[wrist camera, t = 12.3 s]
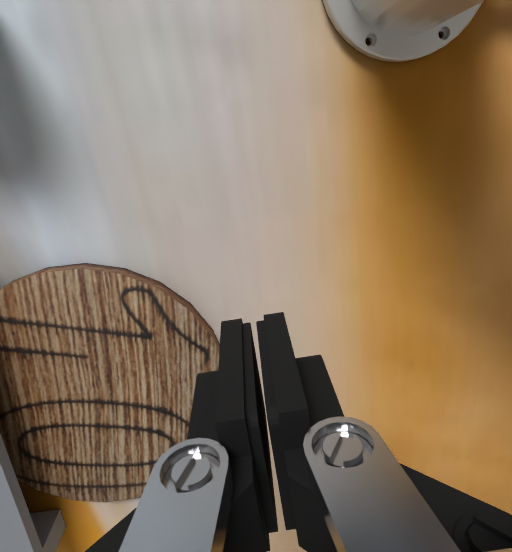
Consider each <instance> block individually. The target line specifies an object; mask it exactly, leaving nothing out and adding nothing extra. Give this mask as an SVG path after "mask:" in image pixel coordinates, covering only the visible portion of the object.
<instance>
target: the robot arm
mask: <svg viewBox="0 0 512 552" xmlns="http://www.w3.org/2000/svg"><path fill="white" fill-rule="evenodd" d="M483 1H485V0H323V3H324V6H325V9H326V12H327V14H328V16H329V18H330V20H331V22H332V23H333V25H334V27H335V29H336V30H337V31H338V32H339V34H340V35H341V36H342V37H343V38H344V40H345V41H346V42H347V43H349V44H350V45H351V46H352V47H354V48H355V49H356V50H357V51H359V52H361V53H363V54H365V55H367V56H369V57H371V58H374V59H378V60H382V61H386V62H404V61H409V60H414V59H418V58H421V57H423V56H426V55H429V54H431V53H433V52H435V51H436V50H438V49H440V48H442V47H444V46H445V45H447V44H448V43H449V42H450V41H452V40H453V39H454V38H455V37H457V36H458V35H459V34H460V33H461V32H462V30H463V29H464V28H465V27H466V26H467V25H468V24H469V23H470V21H471V20H472V18H473V17H474V15H475V14H476V12H477V11H478V9H479V7H480V6H481V4H482V2H483ZM438 33H440V34H441V38H439V35H438ZM366 39H369V40H370V45H369V46H367V45H366V42H365V40H366ZM256 323H257V332H258V341H259V350H260V359H261V368H262V377H263V386H264V395H265V404H266V412H267V419H268V426H269V432H270V438H271V444H272V450H273V456H274V462H275V468H276V474H277V479H278V485H279V491H280V497H281V503H282V509H283V515H284V521H285V527H286V530H291V529H296V531H297V537H298V544H299V546H300V547H302V548H303V549H304V550H306V551H307V552H512V515H510V514H509V513H507V512H505V511H502V510H500V509H498V508H496V507H494V506H492V505H489V504H487V503H485V502H483V501H481V500H478V499H476V498H474V497H472V496H470V495H468V494H465V493H463V492H461V491H459V490H457V489H455V488H452V487H450V486H448V485H446V484H444V483H441V482H439V481H437V480H435V479H433V478H431V477H428V476H426V475H424V474H422V473H420V472H418V471H415V470H413V469H411V468H409V467H407V466H405V465H402V464H400V463H399V462H398V461H397V459H396V458H395V456H394V455H393V454H392V452H391V451H390V449H389V448H388V446H387V445H386V443H385V442H384V441H383V439H382V438H381V436H380V435H379V433H378V432H377V431H376V430H375V429H374V428H373V427H372V426H370V425H369V424H367V423H365V422H364V421H362V420H358V419H355V418H352V417H344V415H343V412H342V409H341V407H340V404H339V401H338V399H337V396H336V393H335V391H334V388H333V385H332V383H331V380H330V377H329V375H328V372H327V369H326V367H325V364H324V361H323V359H322V356H321V355H315V356H308V357H302V358H295V356H294V352H293V348H292V344H291V340H290V336H289V332H288V329H287V325H286V321H285V317H284V313H283V312H280V313H274V314H267V315H264V320H263V321H257V322H256ZM271 532H278V525H277V516H276V506H275V497H274V488H273V478H272V469H271V460H270V450H269V441H268V432H267V422H266V414H265V407H264V401H263V395H262V389H261V383H260V377H259V371H258V365H257V359H256V353H255V347H254V342H253V336H252V330H251V324H250V323H244V324H243V322H242V319H235V320H229V321H222V322H221V335H220V350H219V366H218V370H217V371H210V372H204V373H198V374H197V377H196V383H195V390H194V396H193V403H192V409H191V416H190V423H189V429H188V436H187V440H186V441H183V442H180V443H178V444H176V445H174V446H173V447H171V448H170V449H168V450H167V451H166V452H165V453H164V454H163V455H162V456H161V457H160V458H159V459H158V461H157V462H156V464H155V466H154V467H153V469H152V472H151V474H150V477H149V479H148V482H147V484H146V486H145V489H144V491H143V494H142V496H141V499H140V501H139V503H138V506H137V508H135V509H134V510H133V511H132V512H131V513H130V514H128V515H127V516H126V517H125V518H124V519H123V520H121V521H120V522H119V523H118V524H117V525H115V526H114V527H113V528H112V529H111V530H110V531H108V532H107V533H106V534H105V535H104V536H103V537H101V538H100V539H99V540H98V541H97V542H95V543H94V544H93V545H92V546H91V547H90V548H88V549H87V550H86V551H85V552H266V551H270V543H269V533H271Z"/></svg>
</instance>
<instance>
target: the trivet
mask: <svg viewBox="0 0 512 552" xmlns="http://www.w3.org/2000/svg"><path fill="white" fill-rule="evenodd" d="M219 350H220V344H219V342H218V340H217V337H216V335H215V333H214V331H213V329H212V328H211V327H210V325H209V324H208V323H207V322H206V321H205V319H204V318H203V317H202V316H201V315H200V314H199V312H198V311H197V310H196V309H195V308H194V307H193V305H192V304H191V303H190V302H188V301H187V300H185V299H184V298H183V297H181V296H180V295H178V294H177V293H175V292H174V291H173V290H171V289H170V288H168V287H167V286H165V285H164V284H163V283H161V282H159V281H156V280H154V279H151V278H149V277H146V276H144V275H141V274H138V273H136V272H133V271H131V270H128V269H125V268H119V267H112V266H104V265H97V264H89V263H82V264H73V265H64V266H55V267H47V268H45V269H42V270H40V271H37V272H34V273H32V274H29V275H27V276H24V277H22V278H19V279H16V280H14V281H12V282H11V283H9V284H8V285H6V286H5V287H3V288H2V289H1V290H0V434H1V437H2V439H3V442H4V445H5V448H6V450H7V453H8V456H9V458H10V461H11V464H12V467H13V469H14V472H15V475H16V478H17V480H18V481H20V482H22V483H24V484H26V485H28V486H30V487H32V488H34V489H36V490H38V491H40V492H44V493H48V494H52V495H55V496H59V497H63V498H67V499H70V500H81V501H96V502H110V501H118V500H125V499H133V498H139V497H141V496H142V494H143V491H144V489H145V486H146V484H147V482H148V479H149V477H150V474H151V472H152V469H153V467H154V466H155V464H156V462H157V461H158V459H159V458H160V457H161V456H162V455H163V454H164V453H165V452H166V451H167V450H168V449H170V448H171V447H173V446H174V445H176V444H178V443H180V442H183V441H186V440H187V436H188V429H189V423H190V416H191V409H192V403H193V396H194V390H195V383H196V377H197V374H198V373H204V372H210V371H217V370H218V366H219Z"/></svg>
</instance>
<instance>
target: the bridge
mask: <svg viewBox="0 0 512 552" xmlns="http://www.w3.org/2000/svg"><path fill="white" fill-rule="evenodd" d="M65 528H66V525H65V522H64V519H63V516H62V513H61V510H60V509H58V510H50V511H42V512H35V513H29V510H28V508H27V505H26V502H25V499H24V497H23V494H22V491H21V488H20V486H19V483H18V480H17V478H16V475H15V472H14V469H13V467H12V464H11V461H10V458H9V456H8V453H7V450H6V448H5V445H4V442H3V439H2V437H1V434H0V552H56V550H57V547H58V545H59V542H60V540H61V537H62V535H63V533H64V530H65Z"/></svg>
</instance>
